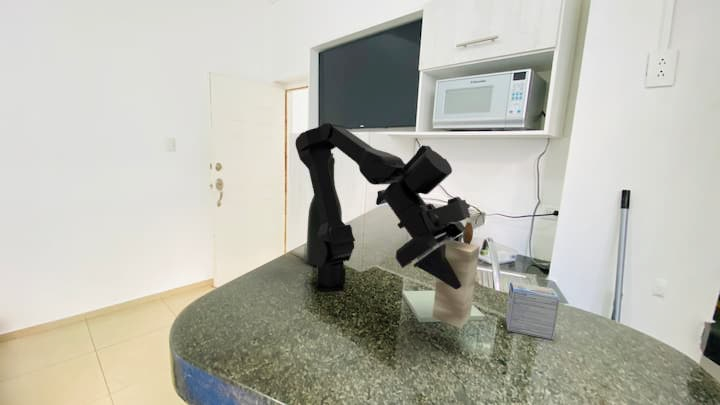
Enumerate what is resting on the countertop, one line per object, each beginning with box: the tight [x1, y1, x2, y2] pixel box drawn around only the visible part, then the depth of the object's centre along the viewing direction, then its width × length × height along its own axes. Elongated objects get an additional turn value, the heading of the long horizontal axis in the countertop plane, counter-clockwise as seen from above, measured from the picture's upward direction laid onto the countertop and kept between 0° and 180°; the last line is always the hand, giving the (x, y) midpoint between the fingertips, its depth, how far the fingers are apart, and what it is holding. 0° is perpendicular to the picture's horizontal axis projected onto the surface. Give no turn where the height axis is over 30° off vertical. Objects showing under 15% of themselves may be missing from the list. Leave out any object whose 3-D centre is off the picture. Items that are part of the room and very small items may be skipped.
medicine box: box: [505, 281, 561, 341], centre depth 58 cm, size 8×4×9 cm, turn 71°
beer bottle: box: [305, 152, 343, 267], centre depth 88 cm, size 10×10×33 cm
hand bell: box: [462, 221, 480, 284], centre depth 83 cm, size 8×8×16 cm
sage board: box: [401, 290, 485, 323], centre depth 66 cm, size 14×12×1 cm
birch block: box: [432, 240, 481, 329], centre depth 51 cm, size 5×5×13 cm
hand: (464, 283), depth 50 cm, fingers closed on birch block, 5 cm apart
